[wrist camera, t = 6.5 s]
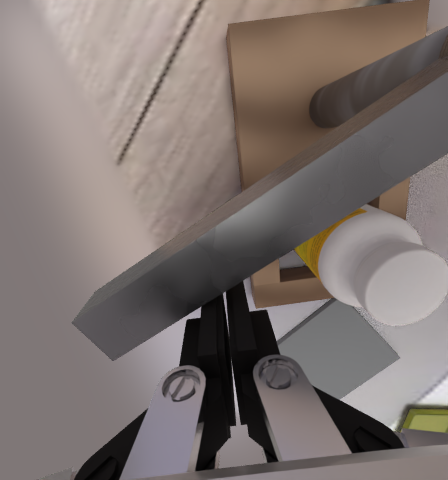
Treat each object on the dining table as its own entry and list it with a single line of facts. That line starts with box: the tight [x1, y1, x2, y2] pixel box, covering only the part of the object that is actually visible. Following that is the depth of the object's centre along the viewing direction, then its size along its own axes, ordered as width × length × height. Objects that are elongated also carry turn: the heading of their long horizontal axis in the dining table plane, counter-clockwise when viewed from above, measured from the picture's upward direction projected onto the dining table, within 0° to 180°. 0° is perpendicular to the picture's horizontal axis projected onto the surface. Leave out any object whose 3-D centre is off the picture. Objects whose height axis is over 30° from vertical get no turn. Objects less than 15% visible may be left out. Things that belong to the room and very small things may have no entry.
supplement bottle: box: [294, 204, 448, 326], centre depth 21 cm, size 7×7×13 cm
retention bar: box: [72, 35, 448, 361], centre depth 9 cm, size 18×4×2 cm, turn 124°
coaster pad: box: [277, 298, 400, 400], centre depth 32 cm, size 12×12×1 cm
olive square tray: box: [400, 409, 448, 433], centre depth 37 cm, size 9×9×2 cm
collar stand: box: [226, 0, 448, 308], centre depth 18 cm, size 23×14×15 cm, turn 7°
